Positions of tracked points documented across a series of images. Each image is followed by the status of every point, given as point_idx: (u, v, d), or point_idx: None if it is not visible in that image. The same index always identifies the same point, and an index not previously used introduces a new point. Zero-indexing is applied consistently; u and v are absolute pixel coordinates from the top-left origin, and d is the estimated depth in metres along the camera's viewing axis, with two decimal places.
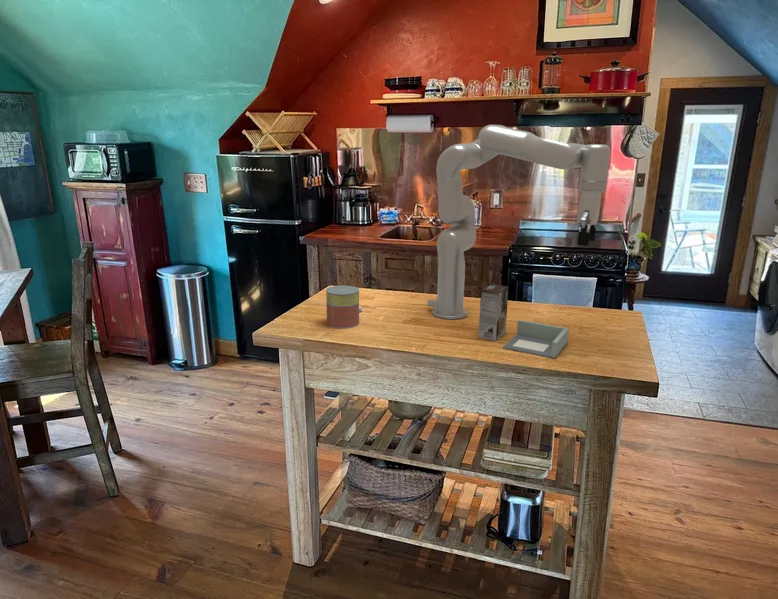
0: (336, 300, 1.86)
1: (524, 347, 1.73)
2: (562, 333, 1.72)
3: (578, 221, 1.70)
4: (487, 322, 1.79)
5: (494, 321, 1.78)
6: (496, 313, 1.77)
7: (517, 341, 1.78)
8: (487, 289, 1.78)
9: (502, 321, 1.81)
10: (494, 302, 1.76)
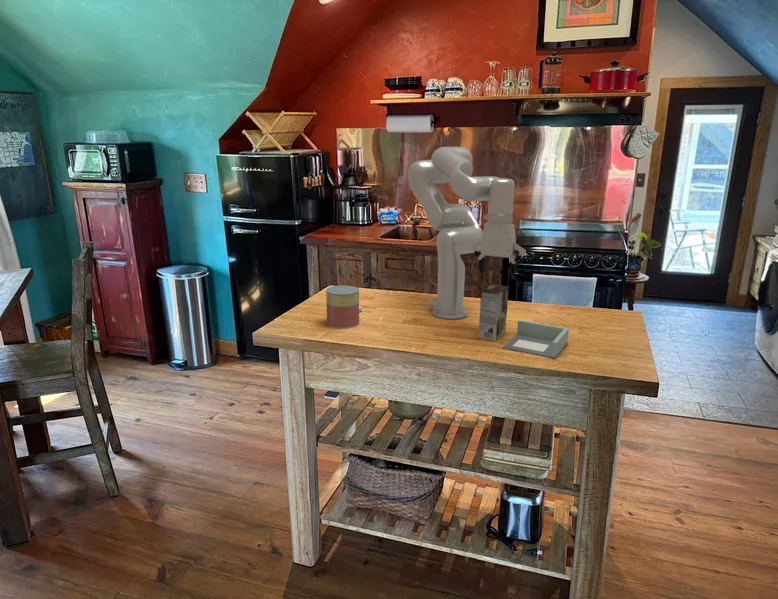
0: (336, 300, 1.86)
1: (524, 347, 1.73)
2: (562, 333, 1.72)
3: (511, 254, 1.72)
4: (487, 322, 1.79)
5: (494, 321, 1.78)
6: (496, 313, 1.77)
7: (517, 341, 1.78)
8: (487, 289, 1.78)
9: (502, 321, 1.81)
10: (494, 302, 1.76)
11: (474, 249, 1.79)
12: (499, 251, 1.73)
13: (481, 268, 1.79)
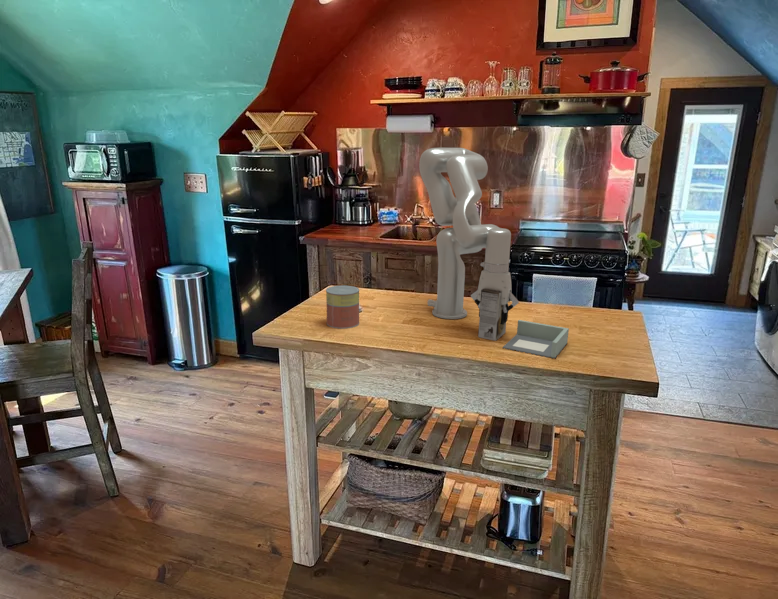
0: (336, 300, 1.86)
1: (524, 347, 1.73)
2: (562, 333, 1.72)
3: (507, 302, 1.77)
4: (487, 322, 1.79)
5: (494, 321, 1.78)
6: (496, 313, 1.77)
7: (517, 341, 1.78)
8: (487, 289, 1.78)
9: None
10: (494, 302, 1.76)
11: (474, 298, 1.84)
12: None
13: None
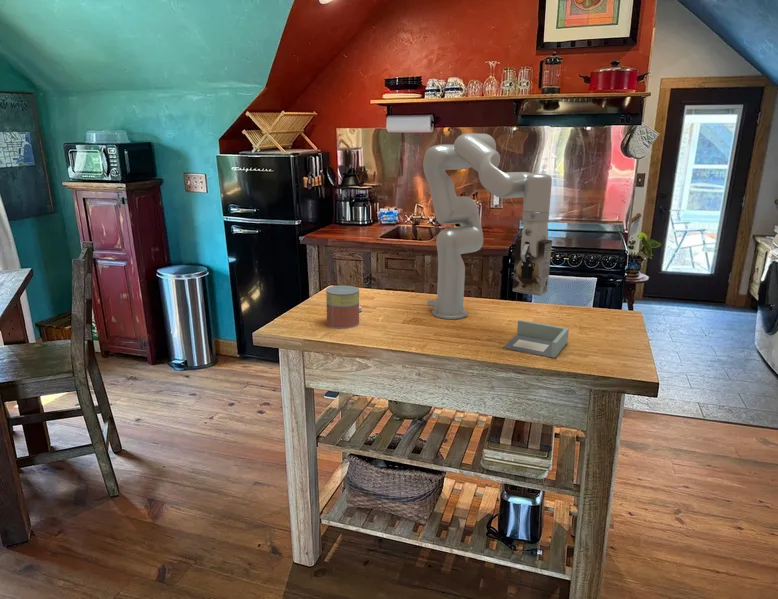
0: (336, 300, 1.86)
1: (524, 347, 1.73)
2: (562, 333, 1.72)
3: None
4: (545, 275, 1.67)
5: (548, 272, 1.69)
6: (549, 262, 1.68)
7: (517, 341, 1.78)
8: (543, 241, 1.64)
9: None
10: (549, 251, 1.66)
11: (526, 257, 1.62)
12: None
13: None
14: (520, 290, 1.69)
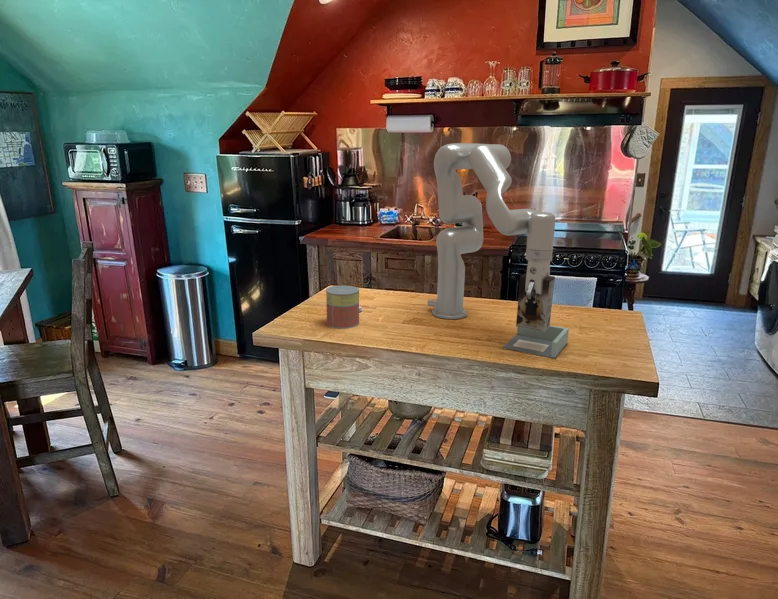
0: (336, 300, 1.86)
1: (524, 347, 1.73)
2: (562, 333, 1.72)
3: None
4: (549, 311, 1.69)
5: (551, 307, 1.71)
6: (552, 298, 1.70)
7: (517, 341, 1.78)
8: (547, 278, 1.66)
9: None
10: (552, 288, 1.69)
11: (531, 295, 1.64)
12: None
13: None
14: (524, 326, 1.71)
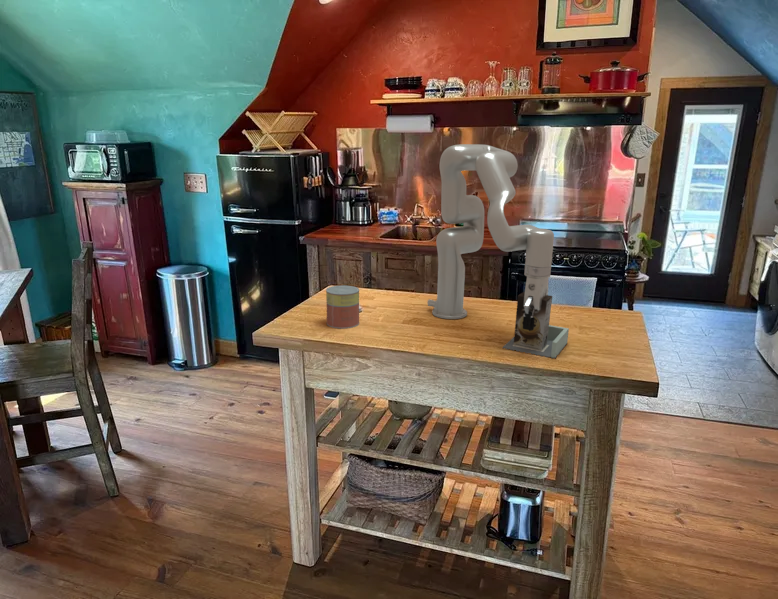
0: (336, 300, 1.86)
1: (524, 347, 1.73)
2: (562, 333, 1.72)
3: None
4: (546, 330, 1.71)
5: (548, 326, 1.73)
6: (549, 317, 1.72)
7: None
8: (544, 298, 1.68)
9: None
10: (550, 307, 1.71)
11: (529, 309, 1.64)
12: None
13: None
14: (521, 344, 1.73)
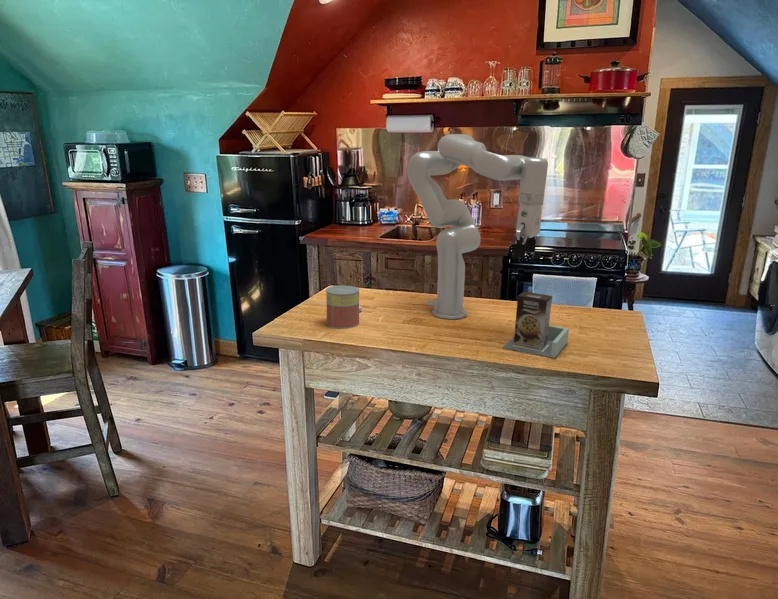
0: (336, 300, 1.86)
1: (524, 347, 1.73)
2: (562, 333, 1.72)
3: None
4: (546, 330, 1.71)
5: (548, 326, 1.73)
6: (549, 317, 1.72)
7: None
8: (544, 298, 1.68)
9: None
10: (550, 307, 1.71)
11: (520, 235, 1.69)
12: (537, 230, 1.75)
13: None
14: (521, 344, 1.73)
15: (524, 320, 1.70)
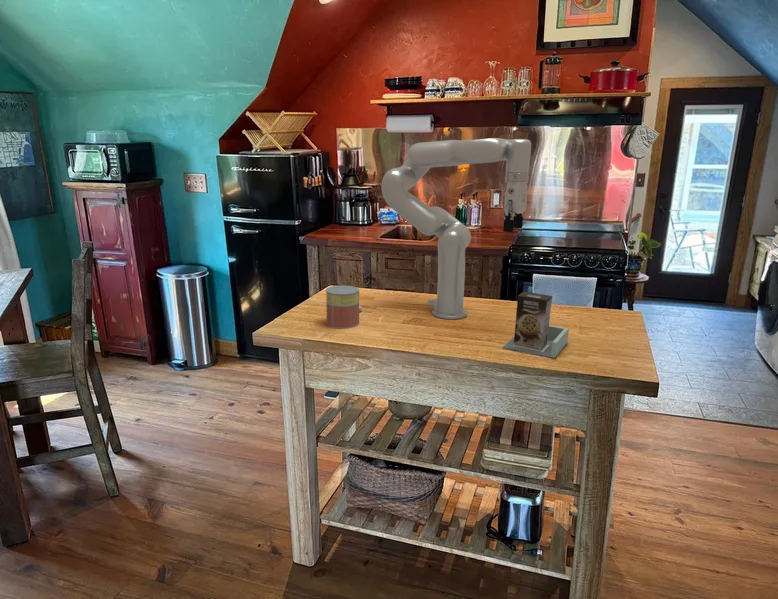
0: (336, 300, 1.86)
1: (524, 347, 1.73)
2: (562, 333, 1.72)
3: None
4: (546, 330, 1.71)
5: (548, 326, 1.73)
6: (549, 317, 1.72)
7: None
8: (544, 298, 1.68)
9: None
10: (550, 307, 1.71)
11: (508, 210, 1.81)
12: (524, 207, 1.87)
13: None
14: (521, 344, 1.73)
15: (524, 320, 1.70)
